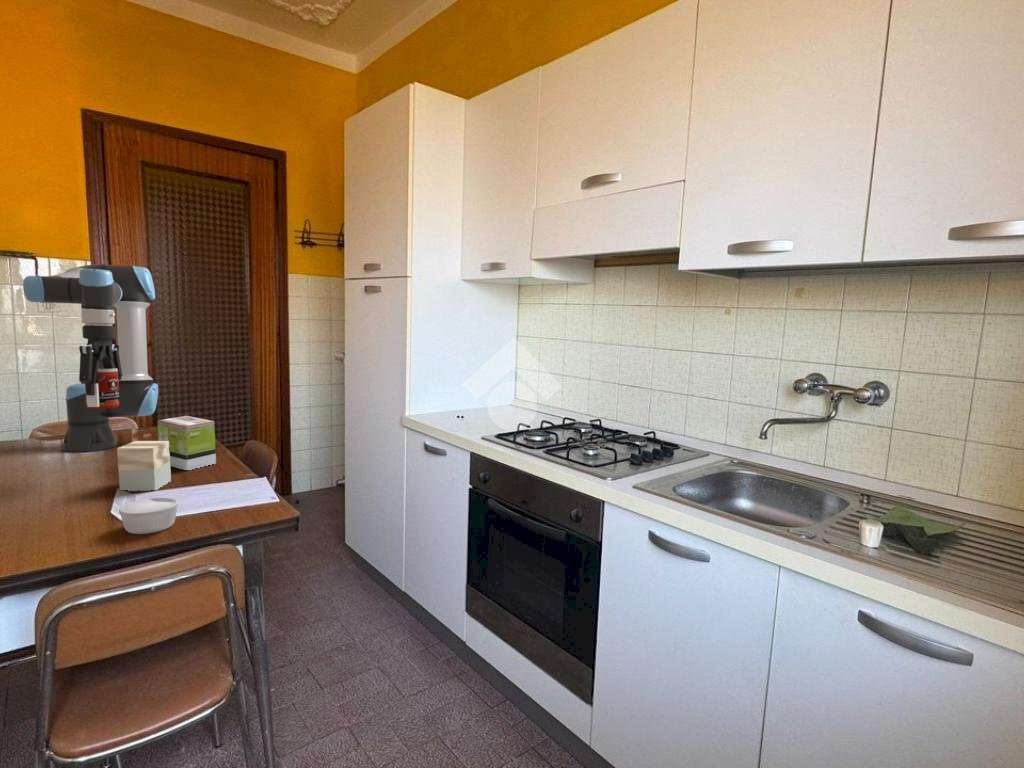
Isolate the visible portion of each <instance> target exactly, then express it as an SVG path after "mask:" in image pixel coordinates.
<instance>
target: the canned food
mask: <svg viewBox="0 0 1024 768" xmlns="http://www.w3.org/2000/svg"><path fill="white" fill-rule="evenodd" d="M97 371H98V372H97V379H96V383H95V384H98V389H99V407H88V408H91V409H105V408H114V407H118V406H119V383H118V370H117V368H104V367H99V370H97ZM85 392H86V384H85ZM86 405H87V394H86Z"/></svg>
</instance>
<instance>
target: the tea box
mask: <svg viewBox="0 0 1024 768" xmlns="http://www.w3.org/2000/svg"><path fill="white" fill-rule="evenodd" d="M215 430H216V428H215V420H210V419H205V418H200V417H195V416H189V415H183V416H178V417H177V416H176V417H170V418H165V419H157V436H158V437H157V438H158V440H157V441H169V453H170V467H172V468H176V469H179V470H182V469H183V471H185V470H190V471H193V470H192V469H194V470H196V469H195V468H198V469H201V468H200V467H203V468H205V467H204V466H207V467H209V466H208V465H211V466H213V465H212V464H214V465H217V455H216V434H215Z"/></svg>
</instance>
